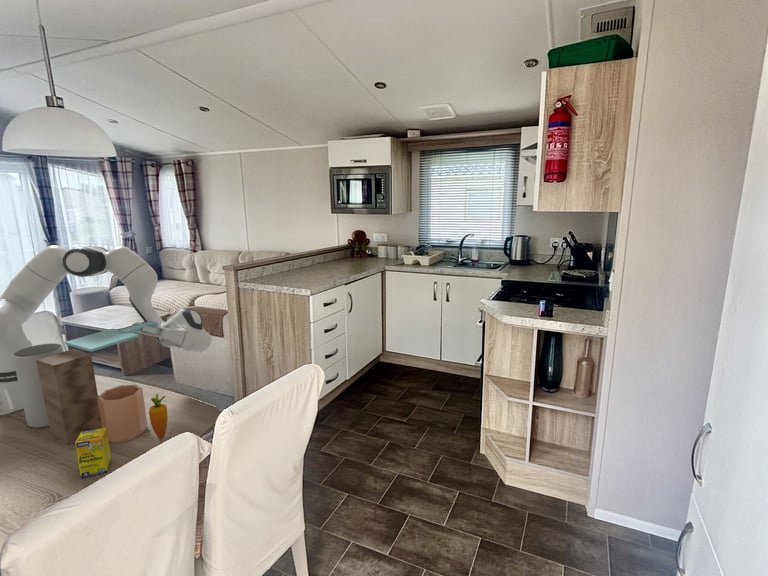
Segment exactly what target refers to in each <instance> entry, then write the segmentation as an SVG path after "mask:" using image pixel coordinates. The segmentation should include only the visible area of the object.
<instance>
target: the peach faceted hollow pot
mask: <svg viewBox="0 0 768 576" xmlns="http://www.w3.org/2000/svg"><path fill="white" fill-rule="evenodd" d="M97 400H98V406H99V412H100V418H101V424H102V428H105V427H106V428H107V435H108V441H109V443H113V444H115V443H117V444H119V443H124V442H127V441H131V440H133V439H136V438H138V437H139V436H141V435H143V433H144V432H146V430H147V426H148V420H147V413H146V412H147V411H146V406H145V398H144V390H143V387H141V386H139V385H138V384H136V383H135V384H134V383H133V384H121V385H118V386H115V387H112V388H109V389H105V390H104V391H102V392H101V394H98V397H97Z"/></svg>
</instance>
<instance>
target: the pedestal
mask: <svg viewBox="0 0 768 576" xmlns="http://www.w3.org/2000/svg"><path fill="white" fill-rule="evenodd" d="M36 362H37V367H38V372H39V377H40V382H41V387H42V392H43V397H44V402H45V407H46V412H47V417H48V422H49V426H48V427H49V431H50V436H51V437H52V438H54V439H55V440H58V441H60V440H61V441H60V442H62V441H63V442H62V443H64V442H65V443H64V444H66V445H68V446H69V445H72V444H74V443H75V442H74V441H76V440H77V439H78V437H79V435H80V433H81V432H83V431H90V430H96V429H101V428H102V424H101V418H100V412H99V406H98V400H97V397H98V396H99V394H98V387H97V382H96V381H97V380H96V377H95V370H94V362H93V356H92V354H91V353H89V352H84V351H81V350H78V349H77V348H76V349H75V348H72V349H69V350H65V351H64V352H61V353H58V354H54V355H51V356H47V357H44V358H40V359H37V360H36ZM73 442H74V443H73ZM71 443H72V444H71Z"/></svg>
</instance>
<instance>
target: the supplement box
mask: <svg viewBox="0 0 768 576" xmlns="http://www.w3.org/2000/svg"><path fill="white" fill-rule="evenodd" d="M74 445H75V452H76V457H77V462H78V468H79V474H80V479H85V478H90V477H93V476H94V475H95V476H98V475H97V474H99V475H102V474H101V473H105V474H107V473H108V471H109V469H110V466H109V465H111V464H112V463H111V462H112V456H111V449H110V442H109V441H108V435H107V428H106V427H105V428H101V429H96V430H90V431H83V432H81V433H80V435H79V437H78V439H77V440H76V442H74ZM108 468H109V469H108ZM107 470H108V471H107Z"/></svg>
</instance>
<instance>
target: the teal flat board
mask: <svg viewBox="0 0 768 576" xmlns="http://www.w3.org/2000/svg"><path fill="white" fill-rule="evenodd" d="M141 323H142V324H139V325H135V326H132V325H130V326H128V327H124V328H122V329H116V328H114V327H113V328H110V329H106V330H101V331H98V332H95V333H91V334H88V335H85V336H81V337H77V338H73V339H71V340H66V341H64V345H67V346H70V347H73V348H76V349H80V350H83V351H88V352H90V353H92V352H95V351H99V350H101V349H105V348H107V347H111V346H114V345H118V344H121V343H124V342H126V341H130V340H133V339H137V338H139V337H140V336H139V334H140V333H137V332H139V331H142V330H141V328H142V326H148V327H156V326H158V322H153V321H149V322H141Z"/></svg>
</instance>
